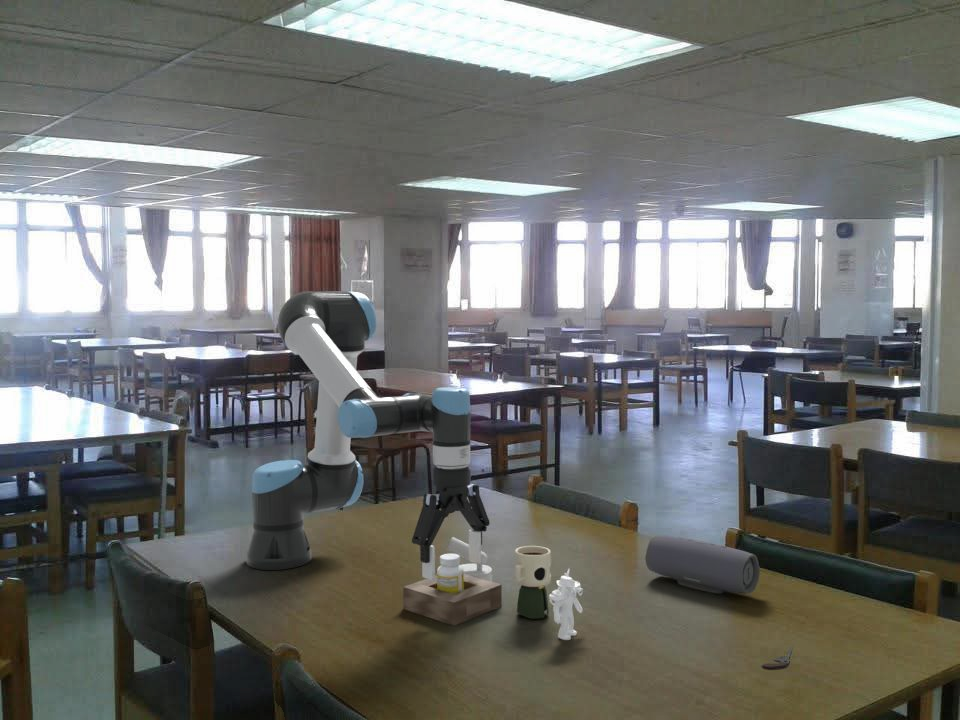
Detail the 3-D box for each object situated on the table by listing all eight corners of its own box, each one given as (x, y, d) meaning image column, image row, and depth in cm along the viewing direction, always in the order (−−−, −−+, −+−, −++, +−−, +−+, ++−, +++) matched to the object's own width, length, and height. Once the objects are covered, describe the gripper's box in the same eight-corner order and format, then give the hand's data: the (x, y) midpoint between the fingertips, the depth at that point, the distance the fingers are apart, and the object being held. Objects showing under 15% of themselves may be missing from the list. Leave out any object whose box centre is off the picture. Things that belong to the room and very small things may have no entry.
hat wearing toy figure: (570, 625, 164) (570, 563, 164) (588, 630, 162) (588, 567, 161) (544, 640, 157) (544, 575, 156) (562, 645, 155) (562, 580, 154)
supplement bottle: (450, 597, 178) (450, 550, 177) (469, 603, 174) (469, 556, 173) (431, 604, 174) (431, 556, 173) (450, 610, 170) (450, 562, 170)
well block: (403, 608, 174) (403, 586, 174) (451, 591, 184) (451, 570, 184) (454, 625, 165) (454, 602, 164) (501, 606, 175) (501, 584, 175)
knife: (785, 673, 143) (785, 669, 143) (760, 670, 145) (760, 666, 145) (796, 645, 156) (796, 641, 156) (772, 642, 158) (772, 638, 158)
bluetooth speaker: (760, 594, 182) (761, 547, 181) (740, 605, 175) (741, 557, 175) (666, 571, 197) (666, 528, 197) (643, 581, 191) (644, 536, 190)
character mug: (531, 628, 163) (531, 560, 163) (501, 619, 168) (501, 553, 167) (563, 611, 172) (563, 547, 171) (533, 604, 176) (533, 541, 175)
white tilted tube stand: (451, 531, 196) (495, 534, 194) (451, 573, 197) (495, 575, 195) (442, 542, 188) (487, 544, 186) (442, 585, 188) (487, 588, 186)
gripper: (420, 477, 161) (421, 589, 162) (506, 458, 179) (506, 559, 181) (392, 472, 166) (394, 581, 167) (479, 454, 184) (479, 552, 186)
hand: (452, 570), depth 174 cm, fingers open, 13 cm apart
